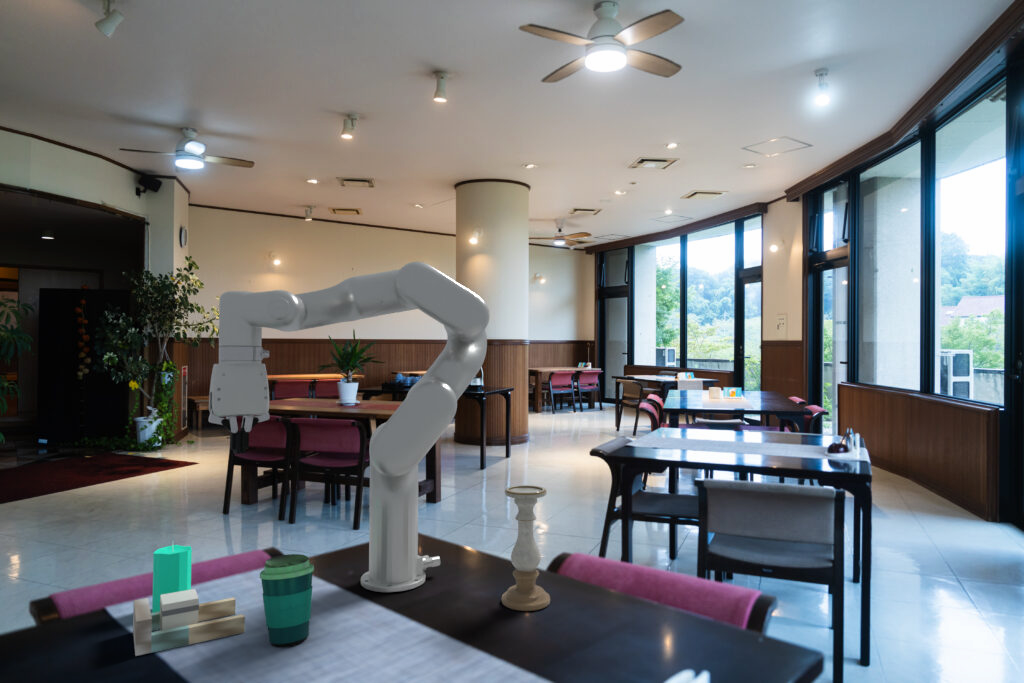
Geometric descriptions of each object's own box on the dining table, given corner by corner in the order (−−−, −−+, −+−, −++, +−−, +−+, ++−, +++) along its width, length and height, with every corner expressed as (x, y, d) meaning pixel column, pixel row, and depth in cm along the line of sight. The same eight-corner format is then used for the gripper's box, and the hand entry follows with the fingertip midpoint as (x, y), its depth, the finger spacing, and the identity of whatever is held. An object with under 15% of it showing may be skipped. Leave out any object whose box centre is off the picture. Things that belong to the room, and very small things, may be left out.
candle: (173, 618, 106) (175, 546, 106) (143, 615, 107) (145, 544, 108) (198, 604, 112) (199, 536, 112) (169, 602, 113) (170, 535, 113)
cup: (261, 653, 93) (262, 571, 93) (256, 632, 100) (257, 556, 100) (317, 642, 97) (318, 563, 97) (308, 623, 104) (309, 550, 104)
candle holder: (493, 607, 110) (493, 491, 111) (512, 590, 119) (512, 483, 119) (540, 614, 107) (540, 495, 108) (556, 597, 115) (556, 486, 116)
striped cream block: (194, 625, 103) (195, 588, 103) (198, 636, 99) (199, 598, 99) (159, 632, 100) (160, 594, 100) (161, 644, 96) (162, 604, 96)
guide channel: (234, 611, 108) (234, 582, 109) (244, 632, 100) (245, 600, 100) (133, 632, 100) (133, 600, 100) (135, 656, 92) (136, 621, 92)
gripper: (275, 356, 127) (274, 447, 126) (193, 356, 118) (192, 454, 117) (286, 356, 120) (285, 452, 120) (200, 356, 112) (199, 459, 111)
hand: (239, 452), depth 118 cm, fingers closed
